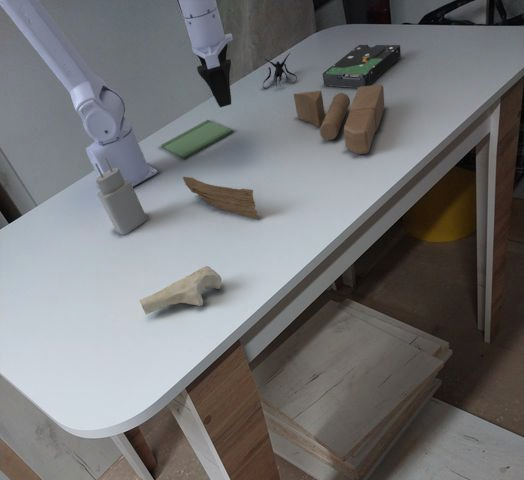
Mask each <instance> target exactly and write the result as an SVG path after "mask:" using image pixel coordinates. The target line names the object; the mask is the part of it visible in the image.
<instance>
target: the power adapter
mask: <svg viewBox="0 0 524 480" xmlns="http://www.w3.org/2000/svg"><path fill="white" fill-rule="evenodd" d="M105 160H106V162H107V165H108V167H109V169H110V170H108V171H107V172H105V173H103V174H102V173H101V171H100V169H99V167H98V165H97V163H95V165H96V167H97V169H98V171H99V173H100V176H99V177H98V176H97V177H96V179H95V182H96V185H97V186H98V188H99V190H100V191H99V192H97V197H98V199H99V201H100V202H101V204H102V206H103V208H104V211H105V212H106V214H107V216H108V219H109V220H110V222H111V224H112V226H113V228H114V230H115V231H116V233H118V234H120V235H122V236H125V235H128V234H129V233H131V232H132V231H133V230H135V229H137V227H139V226H141V225H142V224H143V223H145V222H146V221H147V220H148V217H147V215H146V212H145V211H144V208H143V206H142V204H141V202H140V199H139V198H138V195H137V193H136V191H135V189H134V187H133V186H132V184H131V182H130V181H129V180H127V179H124V178H123V177H122V174H121V172H120V170H119V168H113V169H111V166H110V164H109V163H108V161H107V158H106V157H105Z"/></svg>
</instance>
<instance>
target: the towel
mask: <svg viewBox="0 0 524 480" xmlns="http://www.w3.org/2000/svg"><path fill="white" fill-rule="evenodd" d="M233 133H234V130H233V129H232V128H228V127H226V126H223V125H221V124H218V123H216V122H213V121H211V120H209V119H207V120H205V121H203V122H201V123H198V125H196V126H193V127H192V128H189V129H188V130H186V131H184V132H183V133H180V134H179V135H177V136H175V137H173V138H171V139H170V140H168V141H166V142H163V143H162V144H161V146H160V147H161V148H163V149H165V150H166V151H168V152H170V153H172V154H174V155H176V156H178V157H180V158H182V159H183V160H186V159H188V158H190V157H191V156H194V155H195V154H196V153H199V152H200V151H202V150H204V149H206V148H207V147H209V146H211V145H213V144H215V143H217V142H218V141H220V140H222V139H223V138H226V137H227V136H229V135H231V134H233Z"/></svg>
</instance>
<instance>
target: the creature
mask: <svg viewBox="0 0 524 480" xmlns="http://www.w3.org/2000/svg"><path fill="white" fill-rule="evenodd" d="M290 55H291V52H289V53H288V54H287V55H286V57H285V58H284V59H283V61H282V62H280V61H278V60H277V61H276V62H275V63H274V62H272V61H270V60H268V59H266V58H263V60H265V61H266V62H268V63H270V64H271V65H272V66H273V67H274V68H275V70H274V75H273V81H272V82H271V85H270V86H268V87H264V86H262V88H263V89H265V90H267V89H269V88H270V87H272V86H274V85H276V87H278V83H281V81H282V76H283V74H284V75H285V77H286V79H287V80H286V81H285V83H288V80H289V79H290V78H289V77H288V75H292V76H294V77H295V81H294V82H293V84H295V83H296V82H297V80H298V77H297V75H296V74H295V73H294V72H290V71H289V70H288V68H287V64H286V61H287V60H288V57H289V56H290ZM283 67H284V68H283ZM271 68H272V67H270V66H269V67H268V68H267V69H268V71H269V72H268V75H267V77H266V78H265V79H264V80H263V82H262V84H265V82H266V81H267V80H269V79H270V78H271V76H272V69H271ZM278 79H279V80H278ZM274 82H275V83H274ZM277 82H278V83H277ZM289 83H290V84H292V82H291V81H289ZM279 87H281V84H279Z"/></svg>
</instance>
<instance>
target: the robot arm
mask: <svg viewBox="0 0 524 480" xmlns="http://www.w3.org/2000/svg"><path fill="white" fill-rule="evenodd" d="M177 1H178V4H179V7H180V11H181V13H182V17H183V21H184V23H185V27H186V31H187V34H188V37H189V40H190V43H191V47H190V48H191V51H192V53H193V54H195V55H196V56H197V57H198V59H199V60H200V61H201V62H202V63H203V64H202V65H201V64H200V65H198V66H197V67H196V69H197V73H198V75H199V76H200V77H201V79H203V81H204V82H205V83H206V84H207V86H208V87H209V89H210V91H211V93H212V95H213V97H214V99H215V101H216V103H217V105H218V107H219V108H223V107H227V106H231V105H232V93H231V85H230V73H231V66H232V59H231V58H228V59H227V52H228V43H230V42H232V41H234V38H233V34H232V33H231V32H229V33H226V34H225V31H224V26H223V23H222V19H221V15H220V12H219V8H218V3H217V0H177ZM0 7H1V8H2V9H3V10H4V11H5V13H6V14H7V15H8V17H9V18H10V19H11V21H13V23H14V24H15V25H16V27H17V29H18V30H20V32H21V33H22V34H23V36H24V37H25V38H26V39H27V41H28V42H29V43H30V45H31V46H32V47H33V49H35V51H36V52H37V54H38V55H39V56H40V57H41V59H42V60H43V62H44V63H45V64H46V65H47V66H48V68H49V69H50V70H51V71H52V72H53V74H54V75H55V76H56V78H57V79H58V81H60V83H61V84H62V85H63V86H64V88H65V89H66V90H67V92H68V93H69V95H70V97H71V101H72V104H73V108H74V110H75V112H76V113H77V114H78V116H79V117H80V119H81V121H82V124H83V128H84V130H85V132H86V134H87V135H88V136H89V137H90V138H91V139H93V140H94V141H93V142H92V143H91V144H90V145H88V146H87V147H86V148H85V151H86V154H87V157H88V159H89V161H90V163H91V165H92V167H93V169H94V171H95V173H96V175H97V177H99V176H100V173H99V171H98V169H97V167H96V165H95V163H97V165H98V167H99V169H100V171H101V173H102V174H103V173H105V172H107V171H108V170H110V169H109V167H108V165H107V162H106V160H105V157H106V158H107V161H108V163H109V164H110V166H111V169H113V168H119V170H120V172H121V174H122V177H123V178H124V179H127V180H129V181H130V182H131V184H132V186H133V188H134V187H135V186H138V185H139V184H141V183H142V182H144V181H146V180H148V179H149V178H151V177H153V176H155V175H157V174H158V173H159V172H158V170H157V169H156V168H154V167H153V166H150V165H149V164H148V163H147V162H148V161H147V160H146V158H145V155H144V152H143V150H142V149H141V146H140V143H139V141H138V139H137V137H136V134H135V132H134V129H133V127H132V124H131V123H130V122H129V121H128V120H127V119H126V118H125V112H126V103H125V101H124V99H123V97H122V95H120V94H119V93H118V91H116V90H114V89H113V88H111V87H109V85H107V83H106V82H105V81H104V79H103V78H102V77H100V76H99V75H97V74H96V73H94V72H93V71H92V70H91V68H90V67H89V66H88V65H87V64H86V62H85V60H84V59H83V58H82V57H81V55H80V54H79V52H78V51H77V50H76V48H75V47H74V46H73V44H72V43H71V42H70V40H69V39H68V38H67V36H66V35H65V33H63V31H62V29H61V28H60V27H59V25H58V24H57V23H56V22H55V20H54V19H53V17H52V16H51V15H50V13H49V12H48V10H47V8H45V6H44V5H43V4H42V2H41V1H40V0H0Z"/></svg>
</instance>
